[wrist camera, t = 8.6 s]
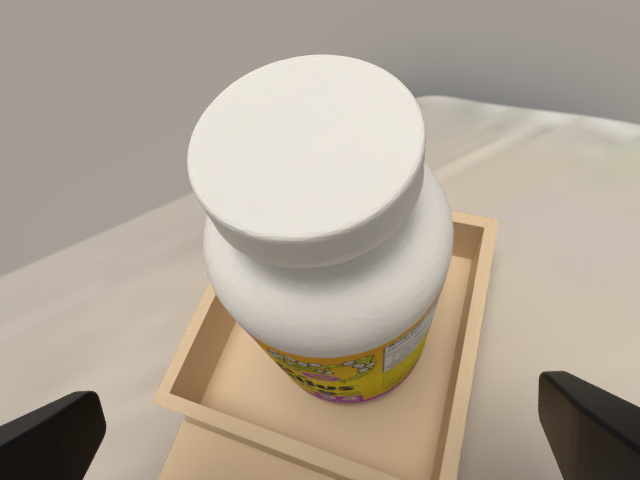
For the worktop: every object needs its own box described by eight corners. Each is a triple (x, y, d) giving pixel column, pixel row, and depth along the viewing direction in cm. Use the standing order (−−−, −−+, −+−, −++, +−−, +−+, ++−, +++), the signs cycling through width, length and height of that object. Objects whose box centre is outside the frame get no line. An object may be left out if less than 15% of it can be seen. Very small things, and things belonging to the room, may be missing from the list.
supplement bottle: (248, 339, 20) (71, 161, 9) (341, 241, 21) (293, -9, 10) (360, 445, 17) (311, 385, 6) (454, 322, 19) (555, 96, 8)
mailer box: (390, 780, 13) (392, 873, 10) (101, 614, 16) (33, 646, 13) (482, 257, 21) (498, 220, 18) (277, 213, 24) (261, 174, 21)
